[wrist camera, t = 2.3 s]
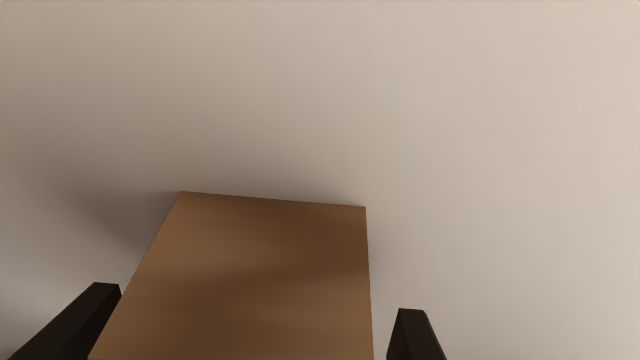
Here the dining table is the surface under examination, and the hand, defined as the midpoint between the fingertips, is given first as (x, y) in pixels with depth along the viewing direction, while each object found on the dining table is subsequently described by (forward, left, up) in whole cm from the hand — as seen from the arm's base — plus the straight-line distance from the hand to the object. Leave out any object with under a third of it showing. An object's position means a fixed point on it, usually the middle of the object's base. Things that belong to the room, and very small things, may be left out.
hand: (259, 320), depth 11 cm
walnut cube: (0, 0, -2) cm, 2 cm away
